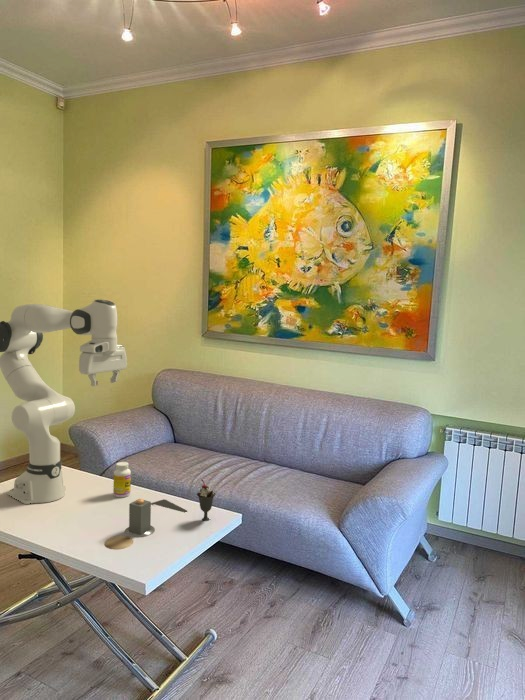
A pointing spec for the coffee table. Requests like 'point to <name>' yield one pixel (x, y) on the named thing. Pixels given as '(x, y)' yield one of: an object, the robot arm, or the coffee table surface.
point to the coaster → (119, 542)
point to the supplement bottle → (122, 480)
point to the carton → (139, 516)
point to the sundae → (205, 500)
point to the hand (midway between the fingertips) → (104, 384)
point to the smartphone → (168, 505)
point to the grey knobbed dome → (140, 535)
